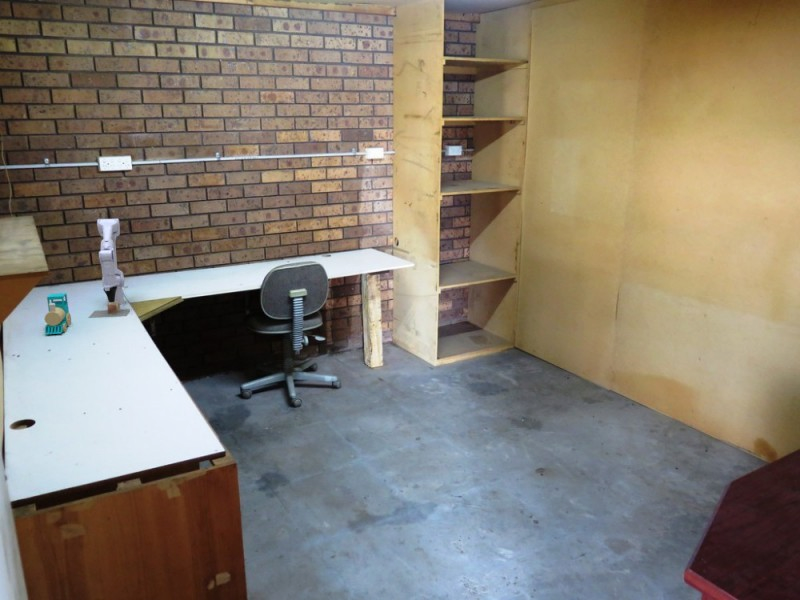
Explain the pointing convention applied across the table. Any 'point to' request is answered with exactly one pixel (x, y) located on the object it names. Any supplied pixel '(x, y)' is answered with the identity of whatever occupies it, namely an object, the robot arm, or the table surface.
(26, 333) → the table surface
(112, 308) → the maple block
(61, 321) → the toy train
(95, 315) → the slate mat
